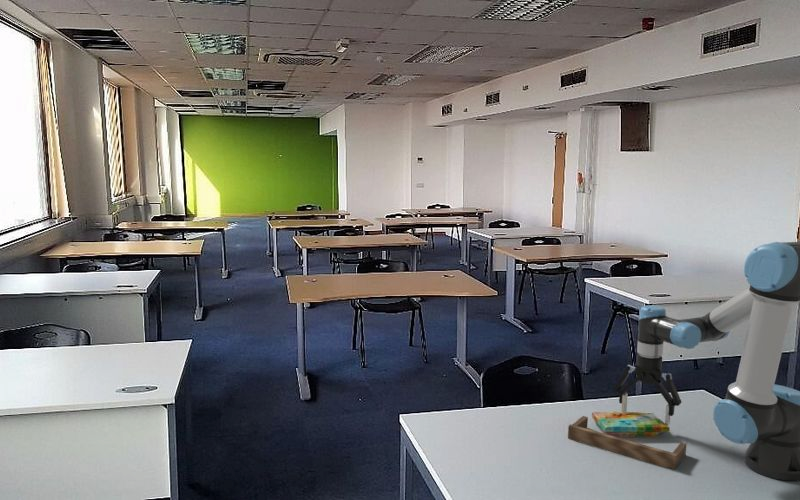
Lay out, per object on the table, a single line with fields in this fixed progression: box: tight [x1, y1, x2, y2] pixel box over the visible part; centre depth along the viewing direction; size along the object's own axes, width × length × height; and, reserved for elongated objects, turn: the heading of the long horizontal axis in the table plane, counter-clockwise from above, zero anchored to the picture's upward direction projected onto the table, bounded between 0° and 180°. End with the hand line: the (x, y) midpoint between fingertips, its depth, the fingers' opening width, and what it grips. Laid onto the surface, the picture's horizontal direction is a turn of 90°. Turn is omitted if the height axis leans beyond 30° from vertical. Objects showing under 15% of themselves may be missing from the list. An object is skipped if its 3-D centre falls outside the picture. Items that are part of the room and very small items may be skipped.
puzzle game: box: [591, 411, 670, 438], centre depth 197 cm, size 12×5×20 cm
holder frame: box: [567, 415, 688, 471], centre depth 186 cm, size 31×12×4 cm, turn 52°
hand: (645, 419), depth 200 cm, fingers open, 13 cm apart
